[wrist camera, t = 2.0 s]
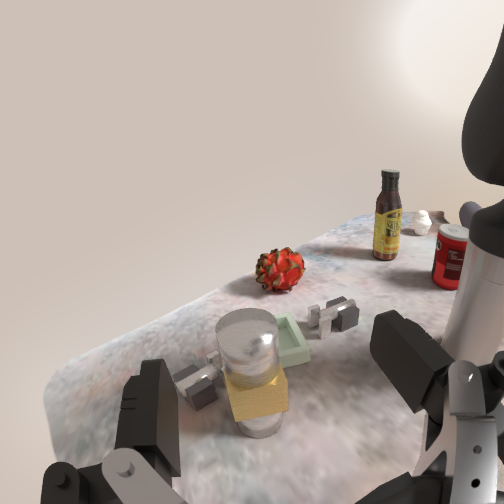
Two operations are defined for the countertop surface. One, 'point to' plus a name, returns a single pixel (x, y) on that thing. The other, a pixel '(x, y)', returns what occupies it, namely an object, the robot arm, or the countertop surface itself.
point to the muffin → (421, 223)
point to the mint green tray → (291, 342)
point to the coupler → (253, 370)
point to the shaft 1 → (200, 381)
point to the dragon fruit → (280, 269)
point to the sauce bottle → (387, 217)
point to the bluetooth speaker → (468, 213)
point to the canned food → (449, 255)
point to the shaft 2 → (334, 316)
